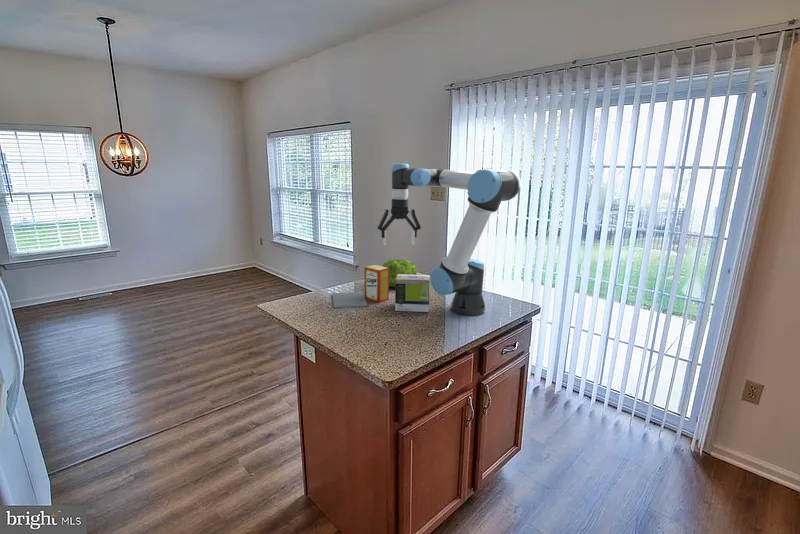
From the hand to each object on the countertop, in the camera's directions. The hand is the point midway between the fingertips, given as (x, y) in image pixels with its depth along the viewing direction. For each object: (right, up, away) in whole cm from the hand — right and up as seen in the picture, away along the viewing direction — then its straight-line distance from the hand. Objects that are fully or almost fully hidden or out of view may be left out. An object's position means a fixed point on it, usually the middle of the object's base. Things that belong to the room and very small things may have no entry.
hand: (399, 244), depth 184 cm
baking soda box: (-11, -26, +4) cm, 29 cm away
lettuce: (+1, -21, +27) cm, 34 cm away
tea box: (+6, -29, -7) cm, 31 cm away
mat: (-23, -26, +1) cm, 35 cm away
